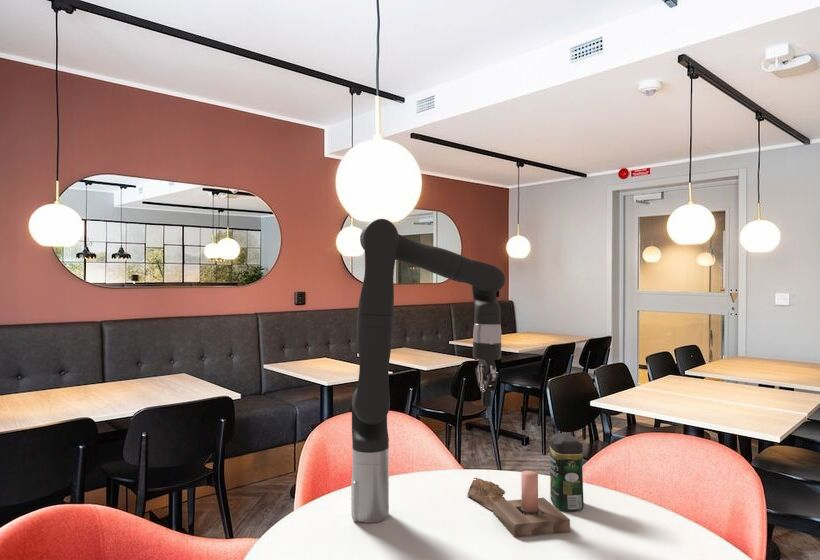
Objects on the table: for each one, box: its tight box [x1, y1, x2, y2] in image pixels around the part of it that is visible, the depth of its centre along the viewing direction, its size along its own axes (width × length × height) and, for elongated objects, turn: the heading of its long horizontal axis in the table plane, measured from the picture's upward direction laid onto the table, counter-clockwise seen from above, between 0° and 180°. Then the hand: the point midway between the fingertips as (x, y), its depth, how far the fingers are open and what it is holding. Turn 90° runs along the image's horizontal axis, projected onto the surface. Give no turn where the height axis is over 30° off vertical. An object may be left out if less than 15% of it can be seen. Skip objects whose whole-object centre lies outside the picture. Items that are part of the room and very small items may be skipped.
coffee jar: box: [549, 432, 584, 512], centre depth 145 cm, size 10×8×19 cm
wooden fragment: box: [466, 477, 507, 512], centre depth 154 cm, size 26×11×1 cm, turn 0°
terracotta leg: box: [520, 470, 539, 516], centre depth 134 cm, size 4×4×12 cm
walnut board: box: [492, 497, 571, 538], centre depth 134 cm, size 14×14×3 cm
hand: (486, 405), depth 145 cm, fingers closed
